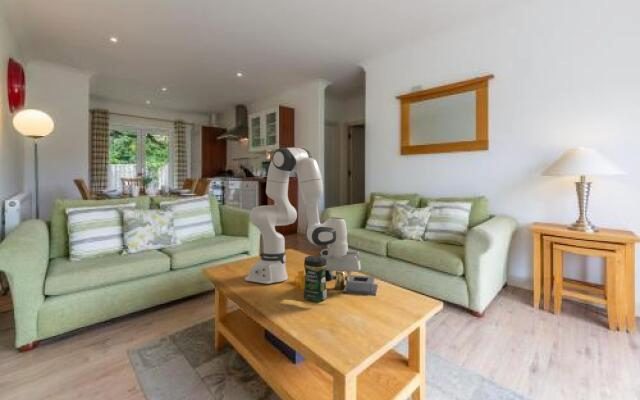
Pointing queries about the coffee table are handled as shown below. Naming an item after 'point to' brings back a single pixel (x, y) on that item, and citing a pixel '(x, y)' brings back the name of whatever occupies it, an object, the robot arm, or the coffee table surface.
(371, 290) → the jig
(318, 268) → the coffee jar
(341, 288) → the tan cylinder
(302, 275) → the pipe clamp
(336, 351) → the coffee table surface
